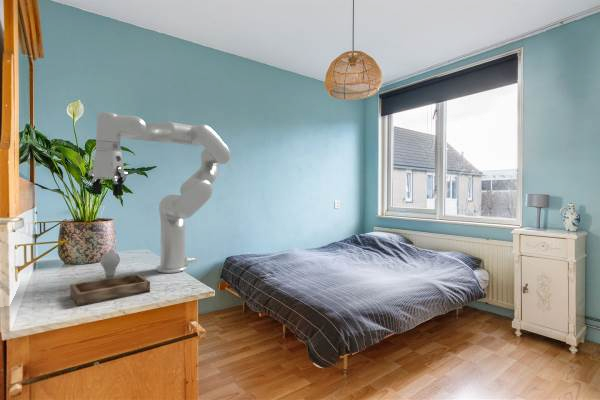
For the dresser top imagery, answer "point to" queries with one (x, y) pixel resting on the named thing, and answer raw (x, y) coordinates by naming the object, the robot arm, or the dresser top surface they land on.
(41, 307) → the dresser top surface
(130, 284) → the walnut tray
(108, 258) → the lightbulb
